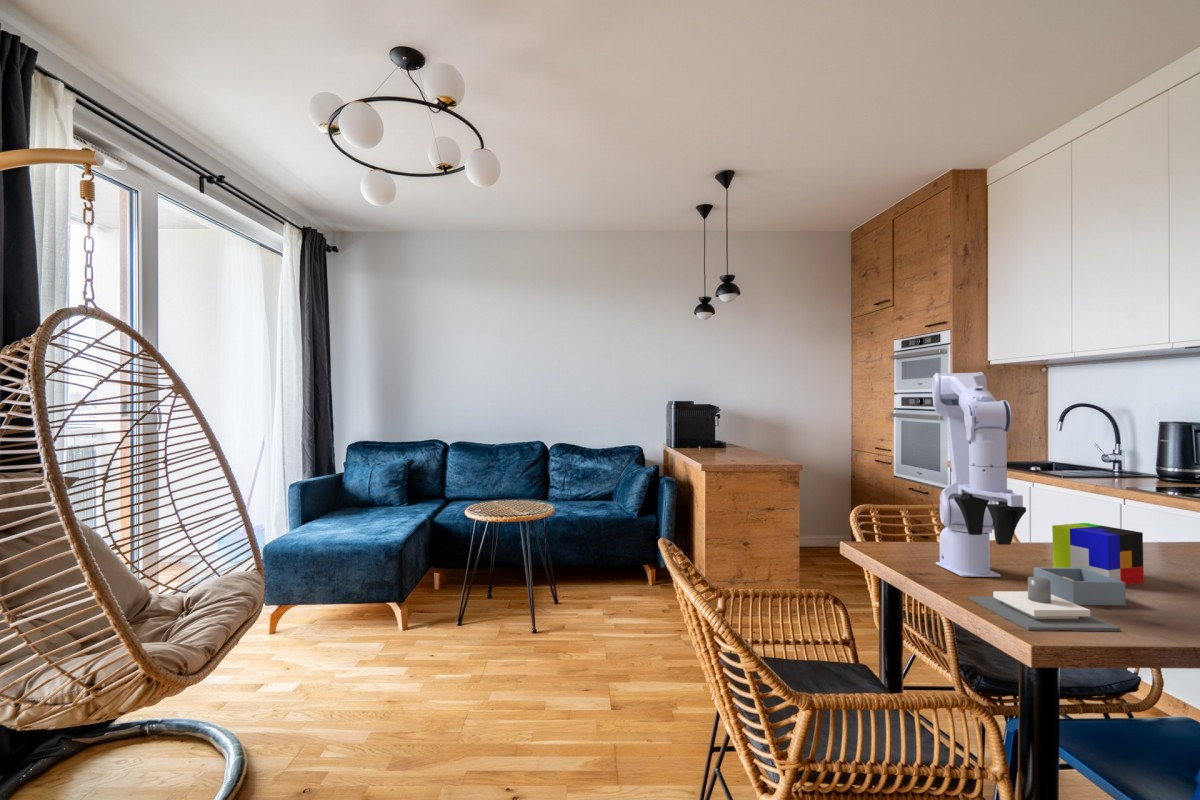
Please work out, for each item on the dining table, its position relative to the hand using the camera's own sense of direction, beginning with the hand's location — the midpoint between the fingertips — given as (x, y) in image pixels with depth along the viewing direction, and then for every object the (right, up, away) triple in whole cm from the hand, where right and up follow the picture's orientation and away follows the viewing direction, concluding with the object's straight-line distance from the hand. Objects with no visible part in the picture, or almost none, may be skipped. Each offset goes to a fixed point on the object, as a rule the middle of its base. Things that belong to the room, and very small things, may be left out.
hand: (988, 539), depth 101 cm
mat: (+2, -10, -9) cm, 14 cm away
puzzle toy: (+30, -11, +11) cm, 34 cm away
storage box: (+16, -10, -1) cm, 19 cm away
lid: (+2, -10, -9) cm, 14 cm away
